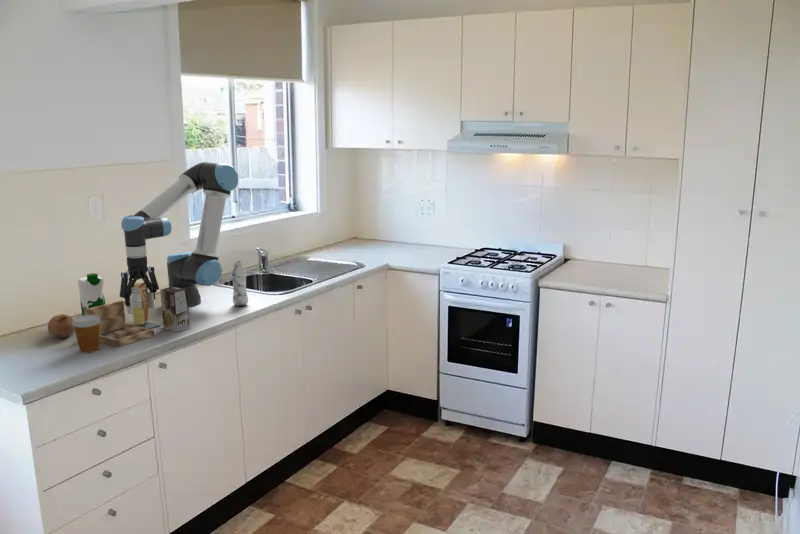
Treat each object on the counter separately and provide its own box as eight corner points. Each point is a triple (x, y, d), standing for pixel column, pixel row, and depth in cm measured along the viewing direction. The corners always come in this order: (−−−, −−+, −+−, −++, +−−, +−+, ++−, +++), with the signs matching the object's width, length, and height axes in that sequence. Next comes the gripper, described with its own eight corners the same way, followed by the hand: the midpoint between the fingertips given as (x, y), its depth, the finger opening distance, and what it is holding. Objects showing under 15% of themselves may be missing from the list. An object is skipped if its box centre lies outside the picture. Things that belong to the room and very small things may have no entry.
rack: (124, 326, 274) (121, 300, 272) (154, 335, 264) (152, 308, 261) (87, 337, 261) (84, 309, 259) (117, 346, 251) (114, 318, 248)
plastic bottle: (249, 306, 303) (247, 262, 298) (234, 308, 300) (231, 264, 296) (247, 302, 308) (245, 259, 304) (231, 304, 306) (229, 261, 302)
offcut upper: (136, 331, 263) (135, 326, 262) (142, 333, 260) (141, 328, 260) (114, 337, 256) (113, 332, 255) (120, 339, 253) (119, 334, 253)
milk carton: (88, 325, 276) (83, 277, 271) (79, 320, 282) (74, 273, 278) (109, 320, 282) (105, 273, 278) (100, 316, 288) (95, 270, 284)
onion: (69, 345, 261) (71, 326, 256) (43, 341, 258) (44, 321, 253) (77, 330, 268) (79, 310, 263) (51, 325, 266) (53, 305, 261)
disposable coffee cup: (71, 349, 248) (67, 318, 245) (97, 343, 254) (94, 312, 252) (80, 356, 241) (77, 323, 239) (107, 349, 248) (104, 318, 245)
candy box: (139, 318, 278) (136, 282, 275) (150, 318, 279) (147, 281, 275) (133, 324, 270) (130, 287, 266) (144, 324, 270) (141, 287, 267)
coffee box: (190, 327, 273) (187, 289, 269) (177, 332, 268) (174, 292, 264) (176, 323, 278) (173, 285, 274) (162, 327, 273) (159, 289, 269)
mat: (142, 321, 281) (141, 319, 281) (160, 326, 275) (160, 324, 275) (124, 326, 275) (124, 324, 275) (143, 331, 268) (143, 330, 268)
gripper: (154, 250, 279) (158, 303, 284) (105, 259, 262) (111, 315, 267) (165, 252, 275) (169, 305, 280) (117, 262, 257) (122, 319, 262)
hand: (141, 310), depth 273 cm, fingers closed on candy box, 9 cm apart
